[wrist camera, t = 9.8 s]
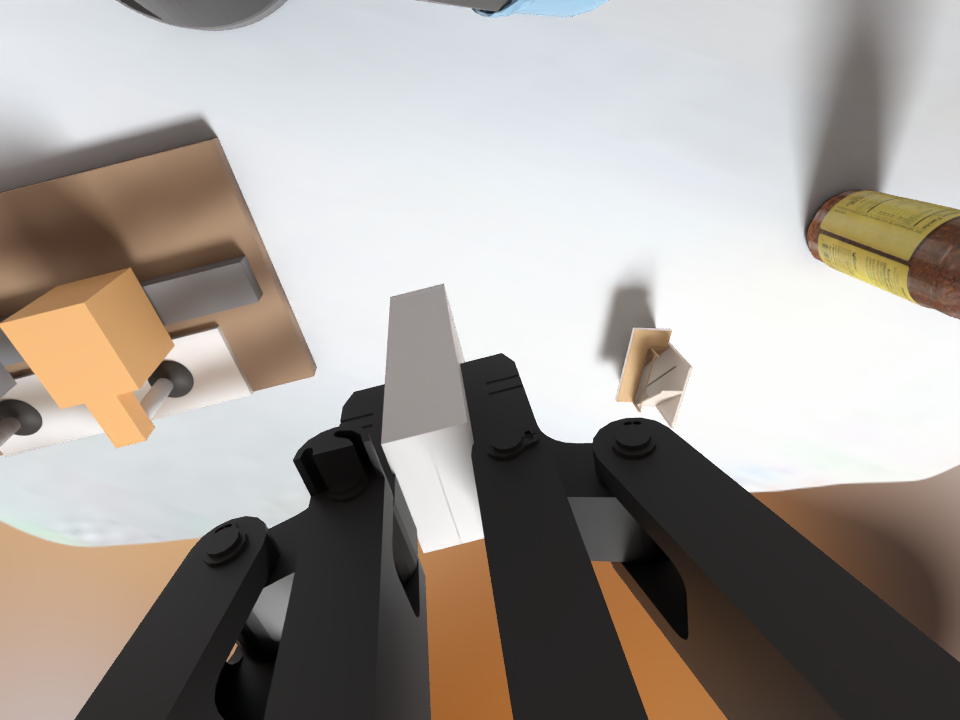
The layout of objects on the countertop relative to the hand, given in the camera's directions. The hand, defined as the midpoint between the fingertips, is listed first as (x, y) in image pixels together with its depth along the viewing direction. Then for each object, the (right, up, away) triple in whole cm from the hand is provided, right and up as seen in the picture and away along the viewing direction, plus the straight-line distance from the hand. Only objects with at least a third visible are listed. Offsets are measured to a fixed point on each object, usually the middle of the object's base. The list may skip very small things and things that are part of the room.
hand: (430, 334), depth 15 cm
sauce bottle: (+30, +10, +29) cm, 43 cm away
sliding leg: (-23, +1, +23) cm, 33 cm away
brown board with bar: (-27, +3, +25) cm, 37 cm away
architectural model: (+15, 0, +33) cm, 37 cm away
